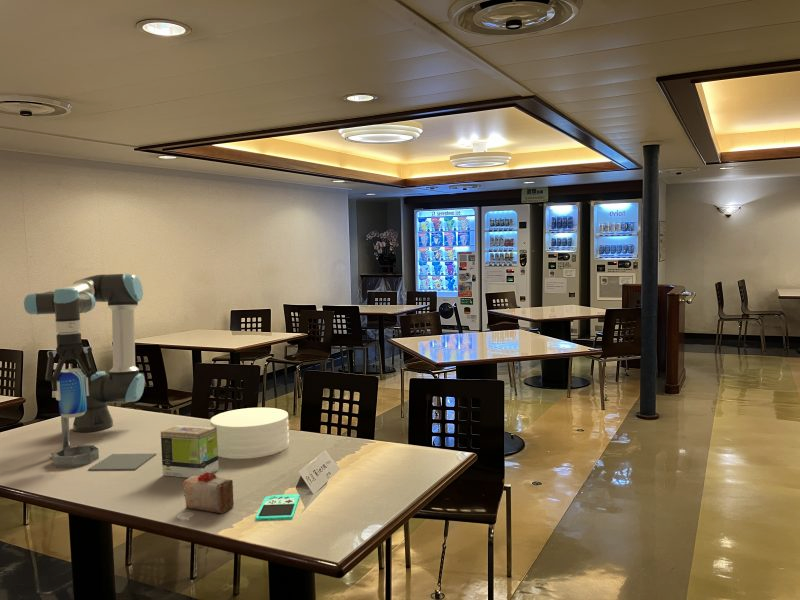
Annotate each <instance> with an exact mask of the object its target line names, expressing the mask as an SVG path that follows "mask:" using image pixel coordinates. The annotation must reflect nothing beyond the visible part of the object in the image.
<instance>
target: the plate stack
mask: <svg viewBox="0 0 800 600" xmlns="http://www.w3.org/2000/svg"><path fill="white" fill-rule="evenodd" d="M209 423H210V426H214V427H217V445H218V458H219V457H220V458H222V459H223V458H224V459H225V458H226V459H232V460H233V459H235V460H238V459H239V460H242V459H243V460H245V459H254V458H255V459H256V458H262V457H267V456H271V455H274V454H277V453H278V454H279V453H280V452H282V451H284V450H286V449H287V448H288V447H289V446H290V440H289V439H290V433H289V431H290V428H289V424H290V422H289V413H288V412H287V411H286V410H283V409H280V408H273V407H247V408H240V409H232V410H228V411H224V412H221V413H218V414H216V415H214V416H212V417H211V418H210V421H209Z"/></svg>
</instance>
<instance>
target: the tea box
mask: <svg viewBox="0 0 800 600" xmlns="http://www.w3.org/2000/svg"><path fill="white" fill-rule="evenodd" d="M160 445H161V447H160V448H161V463H162V464H161V465H162V466H161V467H162V475H163V476H168V477H169V476H170V477H177V478H186V479H188V478H189V477H192V476H201V475H204V473H207V472H208V473H212V472H213V471H214V472H213V473H214V474H215V472H217V471H219V456H218V445H217V427H214V426H211V425H196V424H181V423H180V424H178V425H175V426H172V427H170V428H166V429H164V430H162V431H160Z"/></svg>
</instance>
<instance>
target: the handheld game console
mask: <svg viewBox="0 0 800 600" xmlns="http://www.w3.org/2000/svg"><path fill="white" fill-rule="evenodd" d="M299 499H300V493H294V494H292V493H291V494H273V495H267V496H265V497H264V498H263V501H262V503H261V504H260V507H259V510H258V511H257V514H256V515H255V521H273V520H275V521H277V520H278V521H279V520H293V518H294V516H295V512H296V509H297V506H298V503H299Z"/></svg>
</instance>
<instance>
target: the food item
mask: <svg viewBox="0 0 800 600" xmlns="http://www.w3.org/2000/svg"><path fill="white" fill-rule="evenodd" d="M213 472H214V471H213ZM213 472H212V473H208V472H207V473H204V475H201V476H192V477H189V478H186V479H185V480H183V484H182V485H183V492H184V495H183V497H184V499H185V508H186V509H190V510H199V511H204V512H205V511H206V512H211V513H218V514H224V513H226V512H227V511H228V510H231V509H233V507H234V504H235V503H234V484H233V483H234V482H233V479H228V478H220V477H218V476H216V474H215V472H214V473H213Z"/></svg>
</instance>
